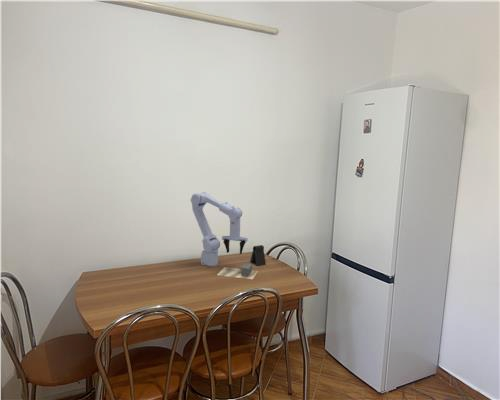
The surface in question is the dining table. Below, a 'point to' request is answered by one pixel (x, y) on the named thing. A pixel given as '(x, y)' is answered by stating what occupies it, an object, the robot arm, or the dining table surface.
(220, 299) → the dining table surface
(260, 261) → the door stopper
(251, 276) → the board
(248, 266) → the block
